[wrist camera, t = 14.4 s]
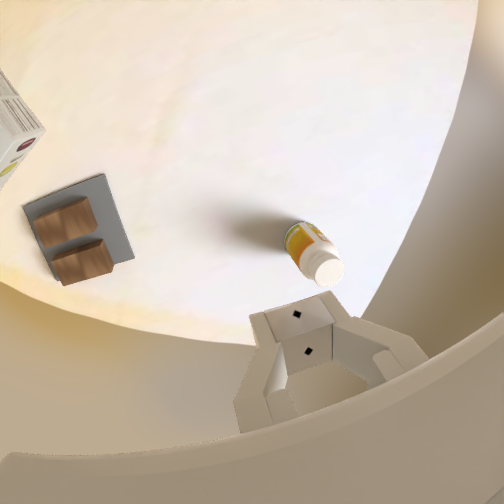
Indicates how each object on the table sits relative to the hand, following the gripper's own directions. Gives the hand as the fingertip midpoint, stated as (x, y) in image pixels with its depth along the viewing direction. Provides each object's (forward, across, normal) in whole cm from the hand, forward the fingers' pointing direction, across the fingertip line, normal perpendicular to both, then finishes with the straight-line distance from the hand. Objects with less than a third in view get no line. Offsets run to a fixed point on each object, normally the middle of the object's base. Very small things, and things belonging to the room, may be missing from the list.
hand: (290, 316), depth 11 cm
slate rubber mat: (+29, +19, +4) cm, 35 cm away
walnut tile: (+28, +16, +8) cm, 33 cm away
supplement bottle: (+29, -10, +14) cm, 34 cm away
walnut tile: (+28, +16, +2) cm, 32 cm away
